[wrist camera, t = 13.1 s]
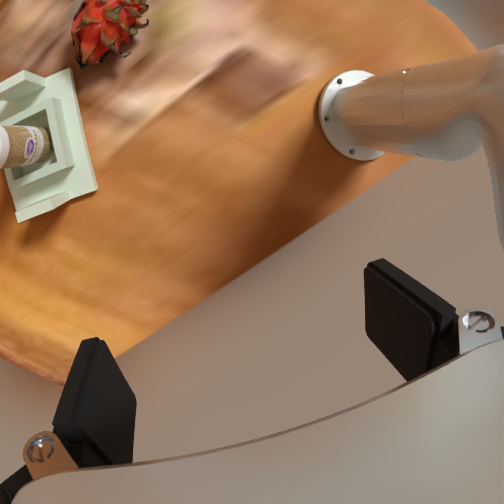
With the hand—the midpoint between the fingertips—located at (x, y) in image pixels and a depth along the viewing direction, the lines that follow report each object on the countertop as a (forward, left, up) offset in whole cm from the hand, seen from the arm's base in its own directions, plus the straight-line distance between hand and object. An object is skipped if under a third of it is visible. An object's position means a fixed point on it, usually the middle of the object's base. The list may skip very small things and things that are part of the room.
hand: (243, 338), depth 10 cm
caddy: (+18, -12, -30) cm, 37 cm away
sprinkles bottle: (+18, -12, -29) cm, 36 cm away
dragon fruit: (+6, -23, -31) cm, 39 cm away
